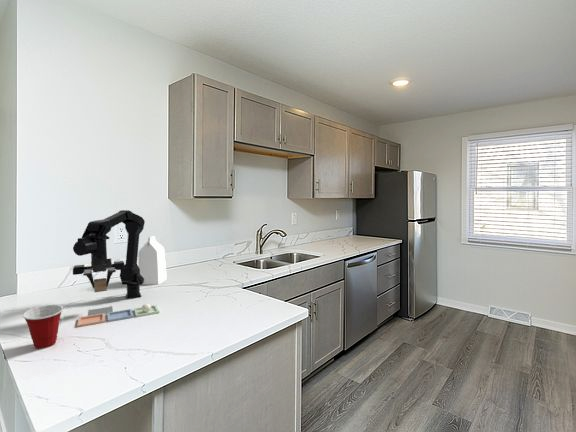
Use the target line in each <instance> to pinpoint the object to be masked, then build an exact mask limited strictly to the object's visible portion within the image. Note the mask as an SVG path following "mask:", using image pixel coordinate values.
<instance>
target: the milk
mask: <svg viewBox="0 0 576 432" xmlns="http://www.w3.org/2000/svg"><path fill="white" fill-rule="evenodd" d="M165 250H166V249H165V248H164V246H163V245H162V244H160V242H158V241H157V240H156V235H152V236H148V237H147V241H146V243H144V244H143V246H142V247H141V248H140V249H138V257H137V265H138V267H139V269H140V275H141V276H142V277H143V278H144V283H142V284H141V285H160V284H162V283H163V282H164V281H166V280H167V279H168V276H167V265H166V263H167V262H166V254H165V253H166V252H165Z"/></svg>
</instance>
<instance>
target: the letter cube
mask: <svg viewBox="0 0 576 432" xmlns="http://www.w3.org/2000/svg"><path fill="white" fill-rule="evenodd" d="M93 280H94V289H93V292H94V293H101V292H106V291H108V287H107V283H106V280H107V277H103V278H95V279H94V278H93Z"/></svg>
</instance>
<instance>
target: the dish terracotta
mask: <svg viewBox="0 0 576 432" xmlns="http://www.w3.org/2000/svg"><path fill="white" fill-rule="evenodd" d="M105 316H106V314H105V313H103V314H96V315H90V316H88V315H86V316H85V315H83V316H79V317H78V321H77V324H76V325H77V328H82V327H87V326H93V325H99V324H104V323H106V319H105V318H106V317H105Z"/></svg>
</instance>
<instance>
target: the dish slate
mask: <svg viewBox="0 0 576 432" xmlns="http://www.w3.org/2000/svg"><path fill="white" fill-rule="evenodd" d="M132 310H133V309H132V308H128V309H121V310H116V311H113V312H109V313H107V314H106V315H107V323H111V322H117V321H122V320H128V319H129V320H130V319H134V314H133V311H132Z"/></svg>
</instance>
